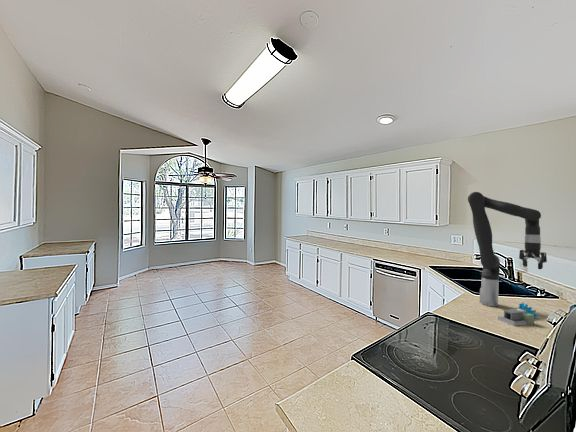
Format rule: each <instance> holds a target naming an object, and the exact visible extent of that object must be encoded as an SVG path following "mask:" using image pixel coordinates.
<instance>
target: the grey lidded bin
mask: <svg viewBox="0 0 576 432" xmlns="http://www.w3.org/2000/svg"><path fill="white" fill-rule="evenodd" d="M512 309H513V310H510V309H504V310H503V316H504V318H507V319H511V320H512V321H522V316H523V312H520V311H517V310H514V309H515V308H512Z"/></svg>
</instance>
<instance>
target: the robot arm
mask: <svg viewBox="0 0 576 432" xmlns="http://www.w3.org/2000/svg"><path fill="white" fill-rule="evenodd" d="M467 202H468V204H469V207H470V209H471V212H472V224H473V229H474V230H473V231H474V235H475V237H476V241H477V244H478V250H479V257H480V258H479V259H480V264H481V265H482V271H481V275H480V276H481V281H480V282H481V284H480V285H481V286H480V288H479V303H481V304H482V305H485V306H489V307H498V306H499V284H500V283H499V282H500V281H499V277H500V267H501V265H500V264H501V261H500V258H499V256H498V255H496V254H495V252H494V248H493V231H492V227H491V223H490V220H489V217H488V215H487V212H486V208H487V209H489V210H490V209H491V210H494V211H497V212H500V213H503V214H507V215H509V216H514V217H518V218H521V219H524V222H525V227H524V228H525V229H524V231H525V232H524V233H525V235H524V249H519V256H518V259H519V260H521V261H522V266H523V267H525V268H527V267H528V260H529V259H531V258H532V259H534V260H536V261H537V269H538V270H542V269H543V267H544V266H543V265H544V263H547V261H548V259H547V253H546V252H542V251H541V248H542V245H541V244H542V240H541V239H542V237H541V227H540V219H541V217H542V213H541V211H539V210H538V209H534V208H529V207H524V206H521V205H518V204H515V203H511V202H506V201H502V200H501V201H500V200H497V199H492V198H490V197H487V196H485V195H483V194H482V193H481V192H479V191H473V192H471V193H469V195H468V197H467Z"/></svg>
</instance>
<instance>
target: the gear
mask: <svg viewBox="0 0 576 432" xmlns="http://www.w3.org/2000/svg"><path fill="white" fill-rule="evenodd" d="M518 309H522V310H526V312H527V313H530V314H533V315H534V320H536V319H538V317H537V316H538V314H536V312H537V311H536V309H533V308H532V307H531V306H529V305H528V304H526V303H523V302H521V303H519V304H518Z"/></svg>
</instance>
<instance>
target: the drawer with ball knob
mask: <svg viewBox="0 0 576 432" xmlns="http://www.w3.org/2000/svg"><path fill="white" fill-rule="evenodd" d="M513 309H514V310H517V311H520V312H523V316H522V321H512V320H511V319H507V318H504V315H502V316H500V315H497V320H498V321H500V322H503V323H506V324H508V325H511V326H514V327H515V326H518V327H519V326H524V325H525V326H526V325H528V326H530V325H531V326H532V325H535V319H534V315H533V314H530V313H527V312H526V310H522V309H520V308H510V309H509V310H513Z"/></svg>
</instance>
